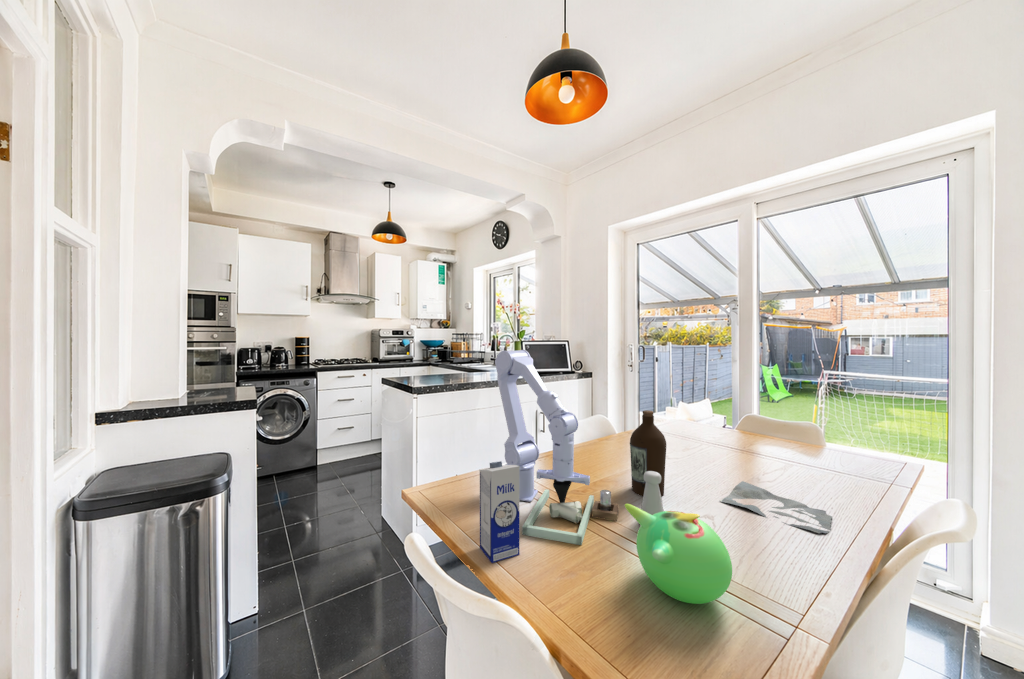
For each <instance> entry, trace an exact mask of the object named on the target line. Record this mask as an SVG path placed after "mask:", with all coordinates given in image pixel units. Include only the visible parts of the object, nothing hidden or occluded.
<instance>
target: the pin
mask: <svg viewBox="0 0 1024 679" xmlns="http://www.w3.org/2000/svg"><path fill="white" fill-rule="evenodd" d="M599 492H600V493H599V496H600V509H599V510H605V511H611V503H612V491H610V490H608V489H601V490H599ZM611 512H612V511H611Z"/></svg>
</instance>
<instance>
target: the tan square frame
mask: <svg viewBox="0 0 1024 679" xmlns="http://www.w3.org/2000/svg"><path fill="white" fill-rule="evenodd" d="M618 516H619V503H614V502H611V511H605V510H600V501H599V500H594V504H593V507H592V511H591V518H593V519H603V520H607V521H614V522H618Z"/></svg>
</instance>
